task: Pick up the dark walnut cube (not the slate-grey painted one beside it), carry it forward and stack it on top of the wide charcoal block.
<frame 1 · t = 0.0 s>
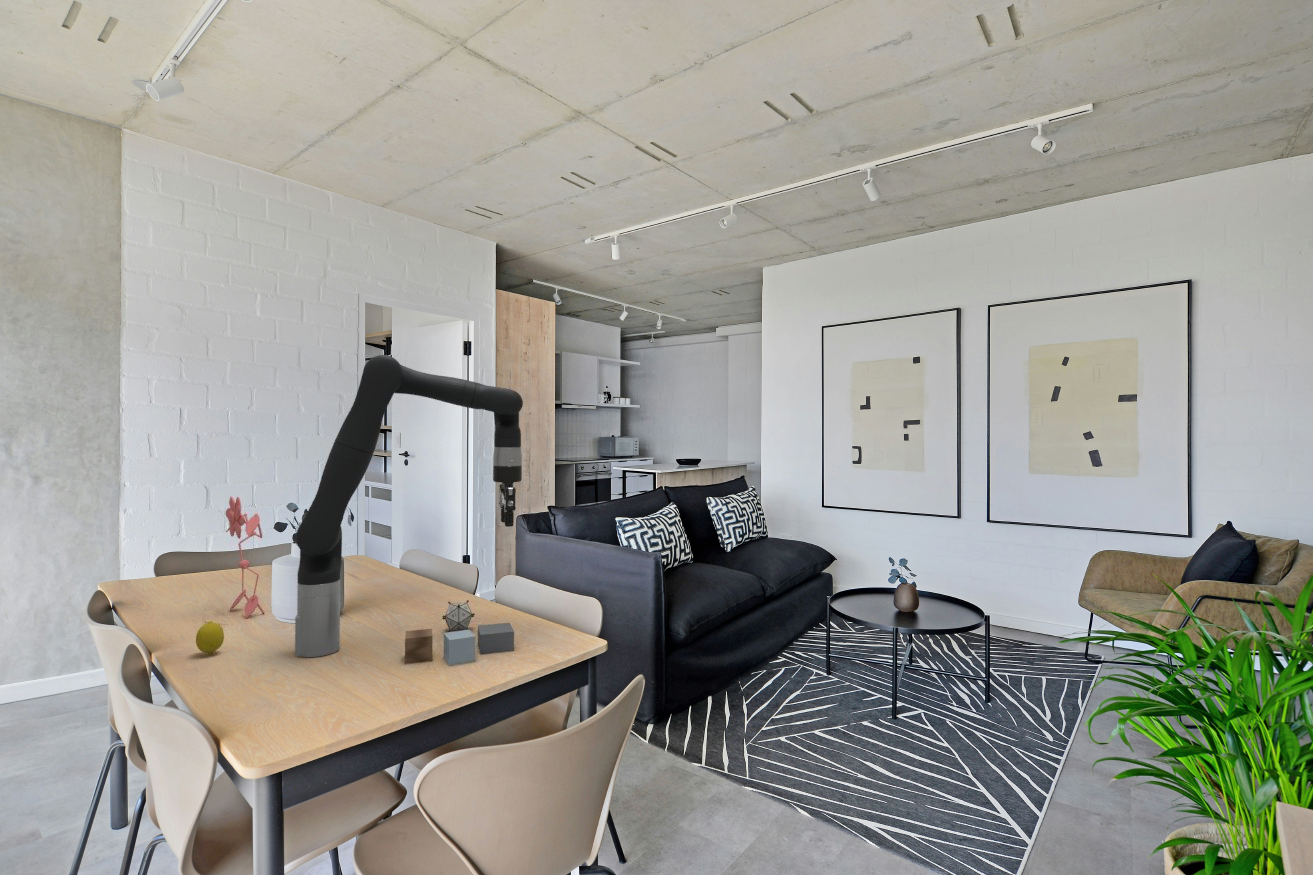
hand: (507, 524, 170), 29 cm above the table, fingers open, 8 cm apart
lemon: (210, 655, 151), on the table
game die: (458, 631, 171), on the table
charcoal block: (495, 648, 158), on the table
slate cube: (459, 659, 149), on the table
walnut cube: (418, 658, 150), on the table
pink stick figure: (232, 616, 184), on the table
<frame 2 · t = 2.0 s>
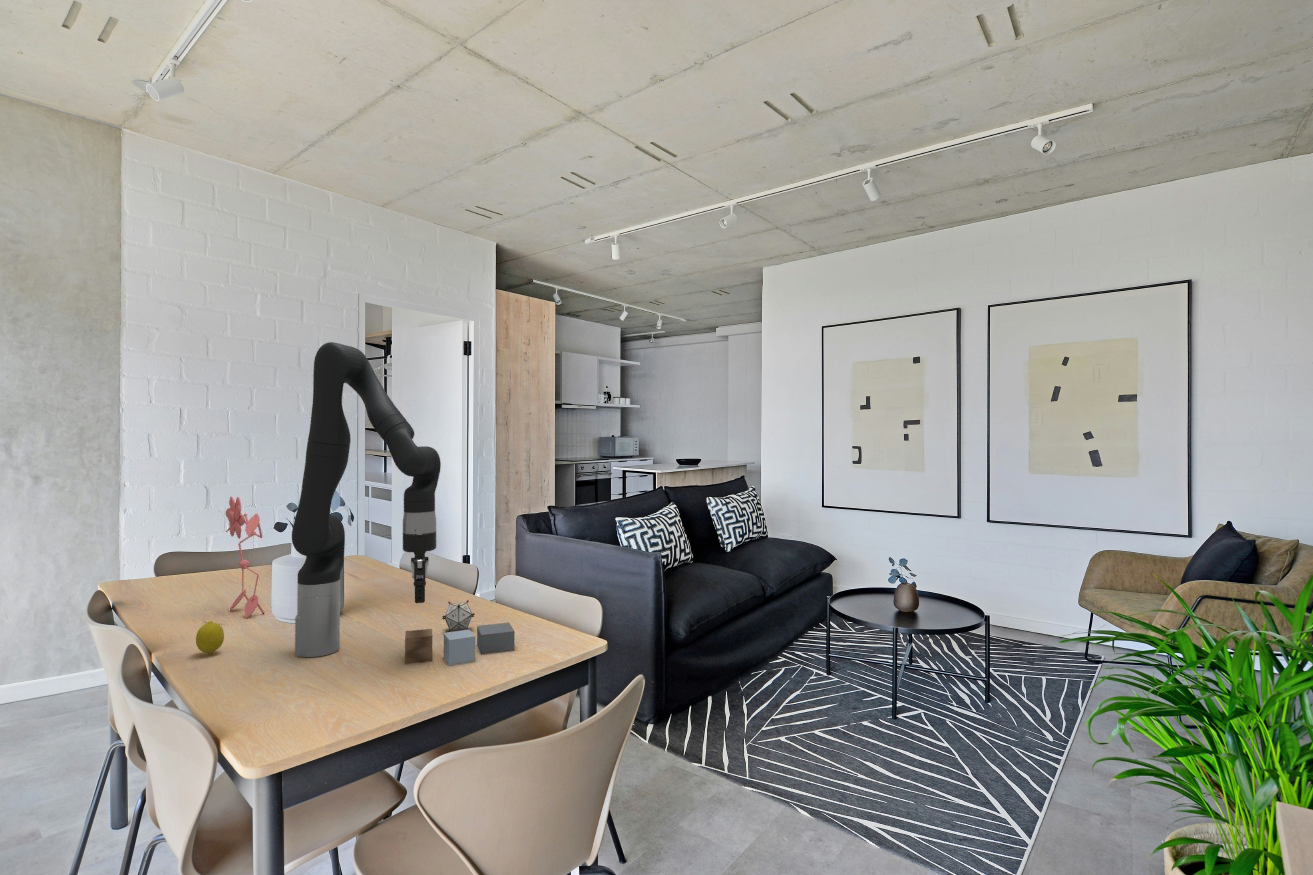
hand: (419, 598, 150), 14 cm above the table, fingers open, 8 cm apart
nothing on the table moved.
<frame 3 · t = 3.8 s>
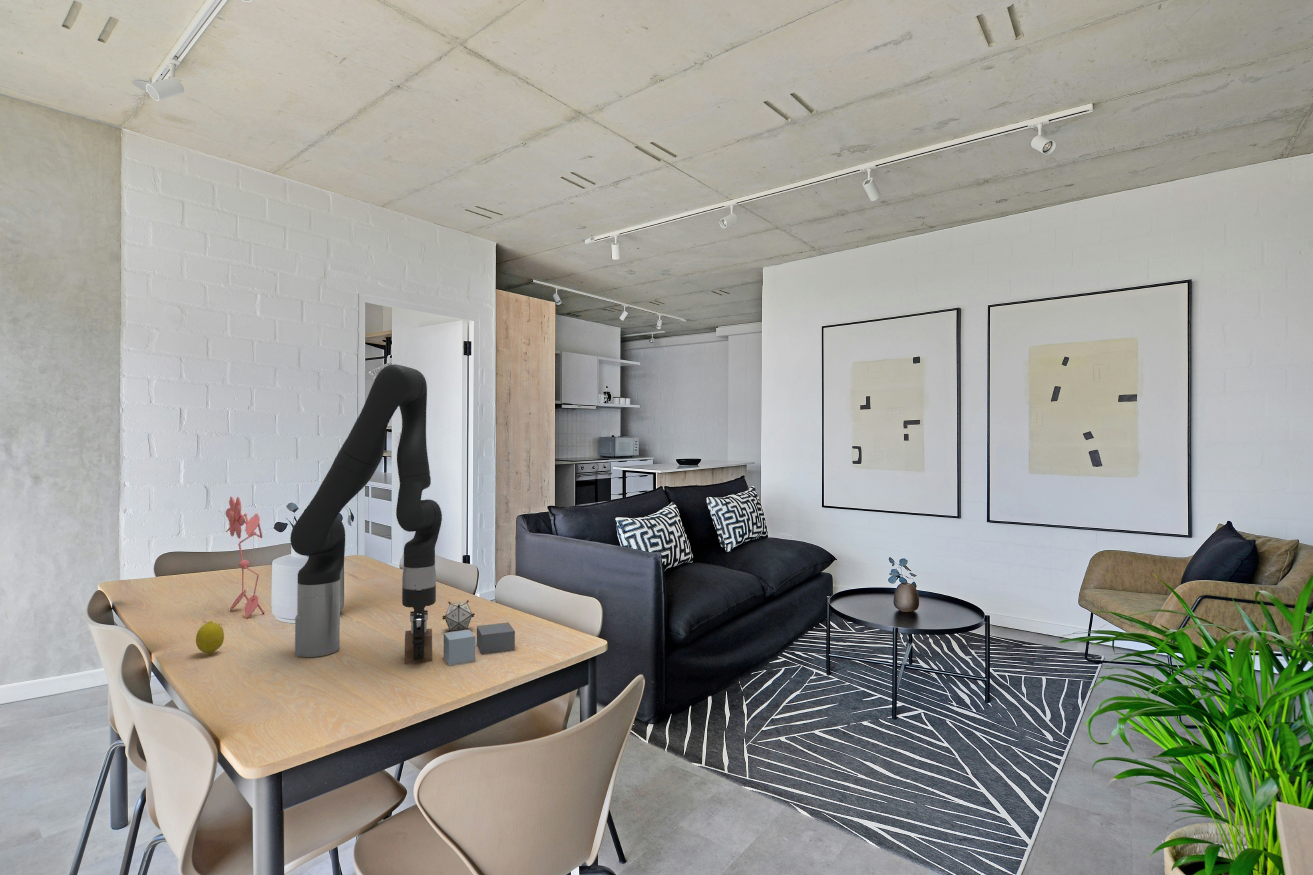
hand: (418, 654, 150), 1 cm above the table, fingers closed on walnut cube, 6 cm apart
walnut cube: (418, 658, 150), on the table, touching gripper
everything else where it was.
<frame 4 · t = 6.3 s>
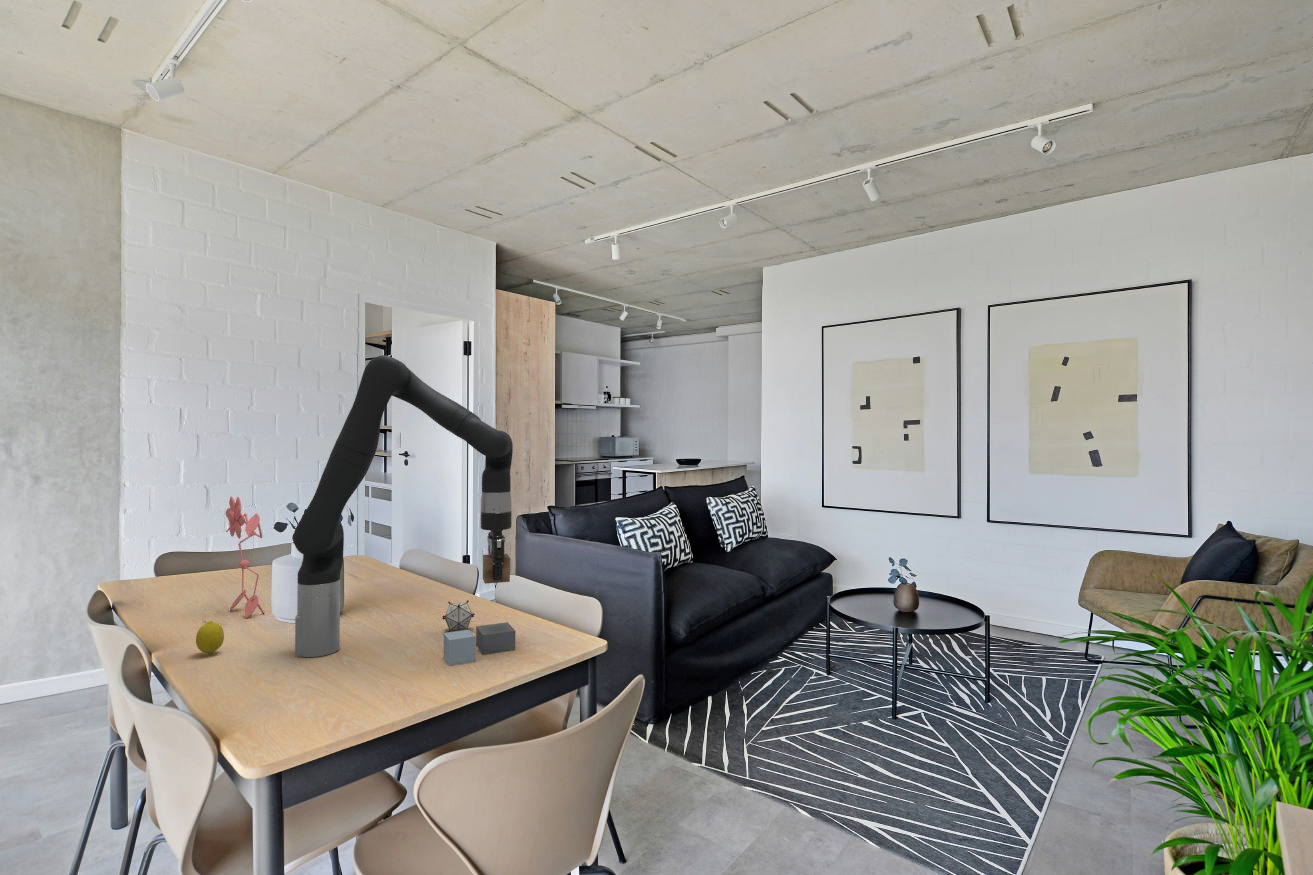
hand: (496, 576, 158), 18 cm above the table, fingers closed on walnut cube, 6 cm apart
walnut cube: (496, 580, 158), point 17 cm above the table, touching gripper
everything else where it was.
when the fingers open (7 cm above the table, at t = 8.8 s): walnut cube drops 1 cm, resting on charcoal block.
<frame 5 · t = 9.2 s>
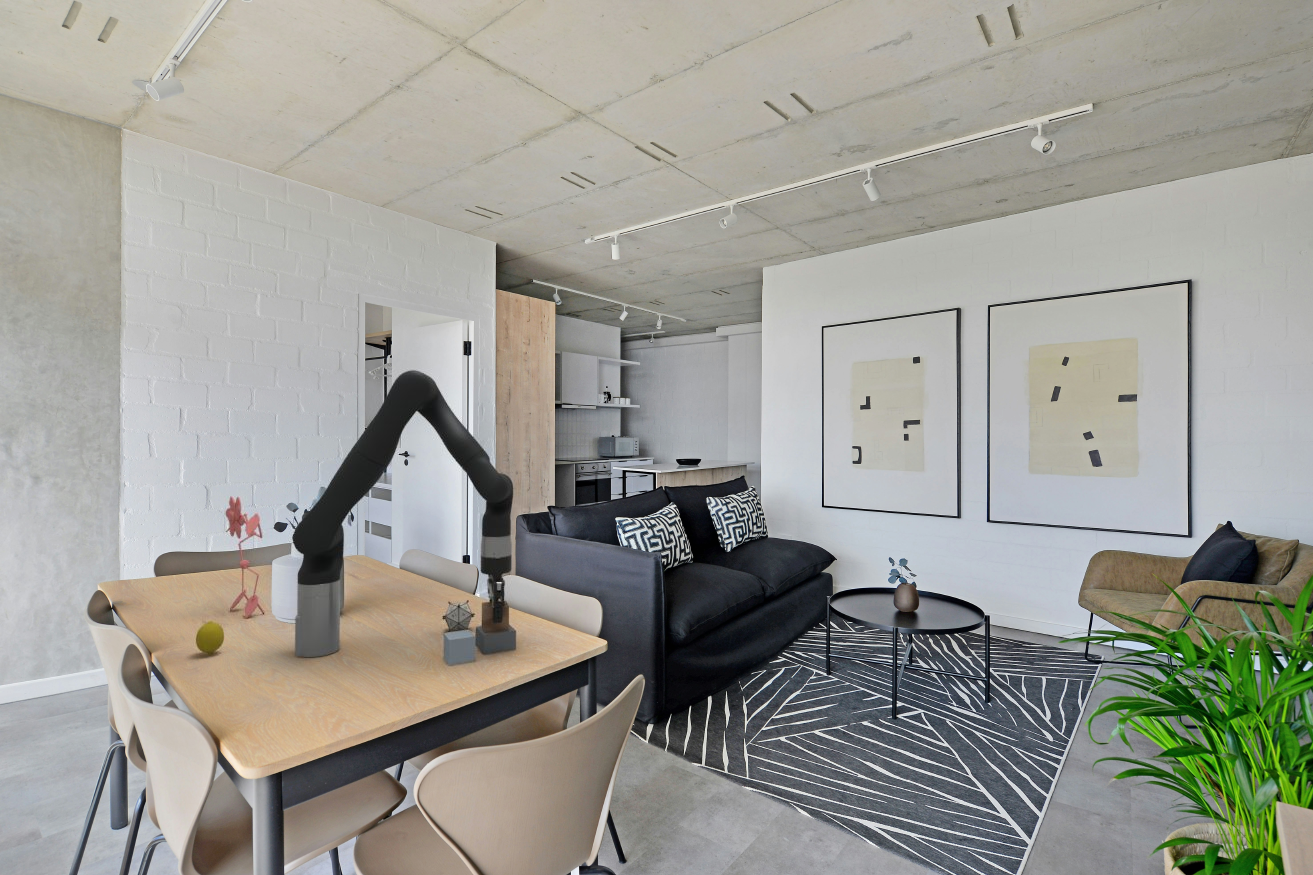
hand: (495, 617, 158), 7 cm above the table, fingers open, 8 cm apart
charcoal block: (495, 648, 158), on the table, touching walnut cube
walnut cube: (495, 628, 158), point 5 cm above the table, touching charcoal block
everything else where it was.
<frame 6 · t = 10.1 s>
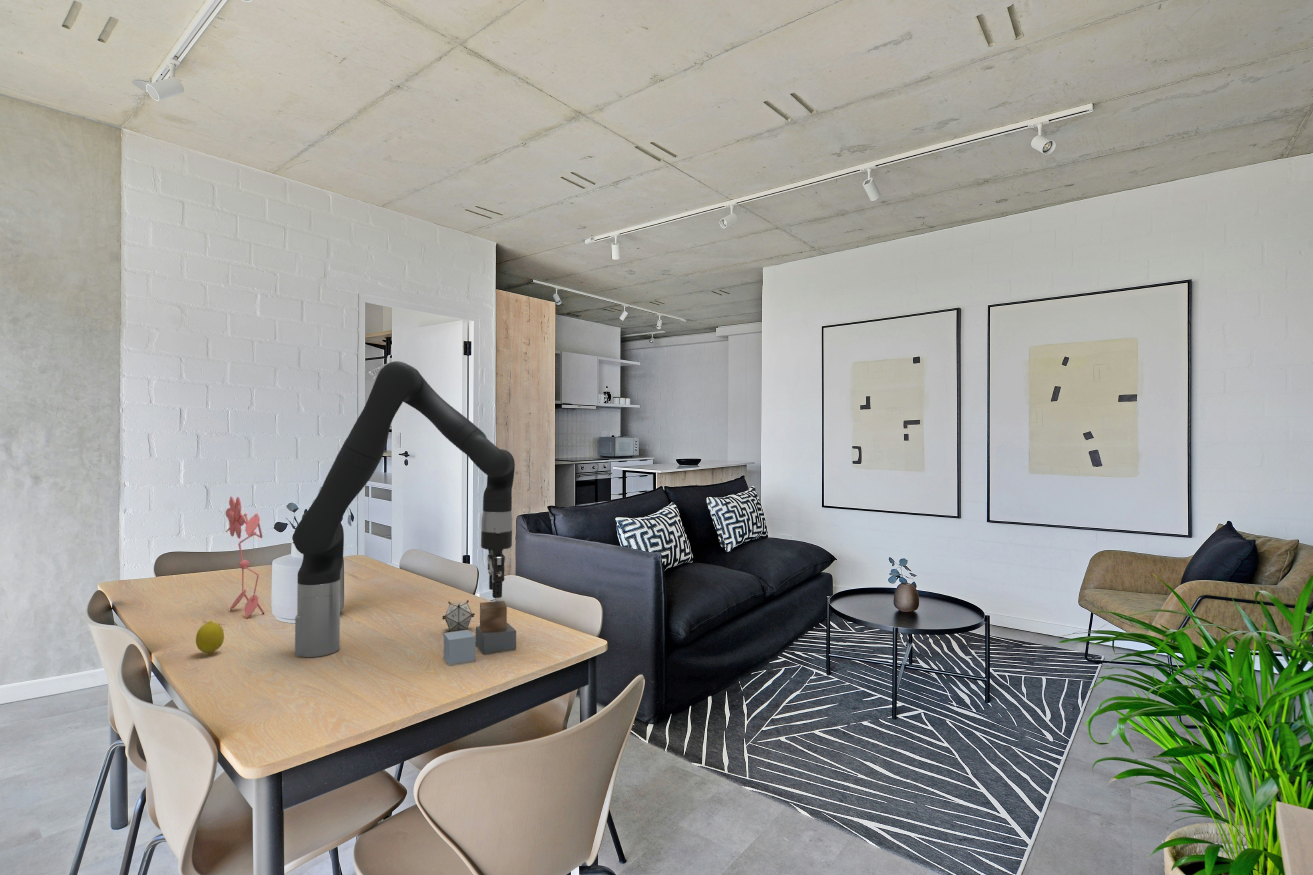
hand: (495, 593, 158), 14 cm above the table, fingers open, 8 cm apart
nothing on the table moved.
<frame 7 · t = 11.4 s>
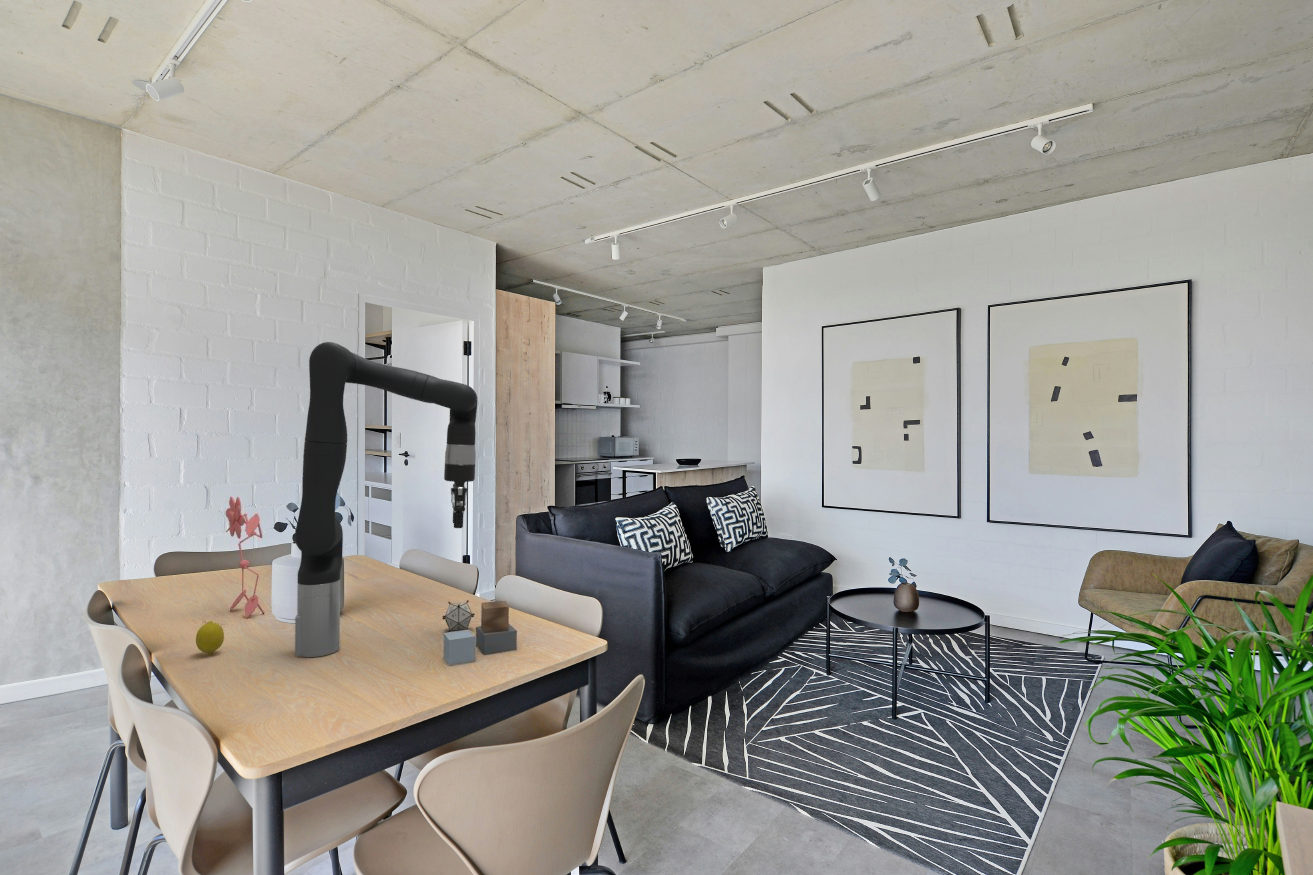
hand: (457, 525, 161), 30 cm above the table, fingers open, 8 cm apart
nothing on the table moved.
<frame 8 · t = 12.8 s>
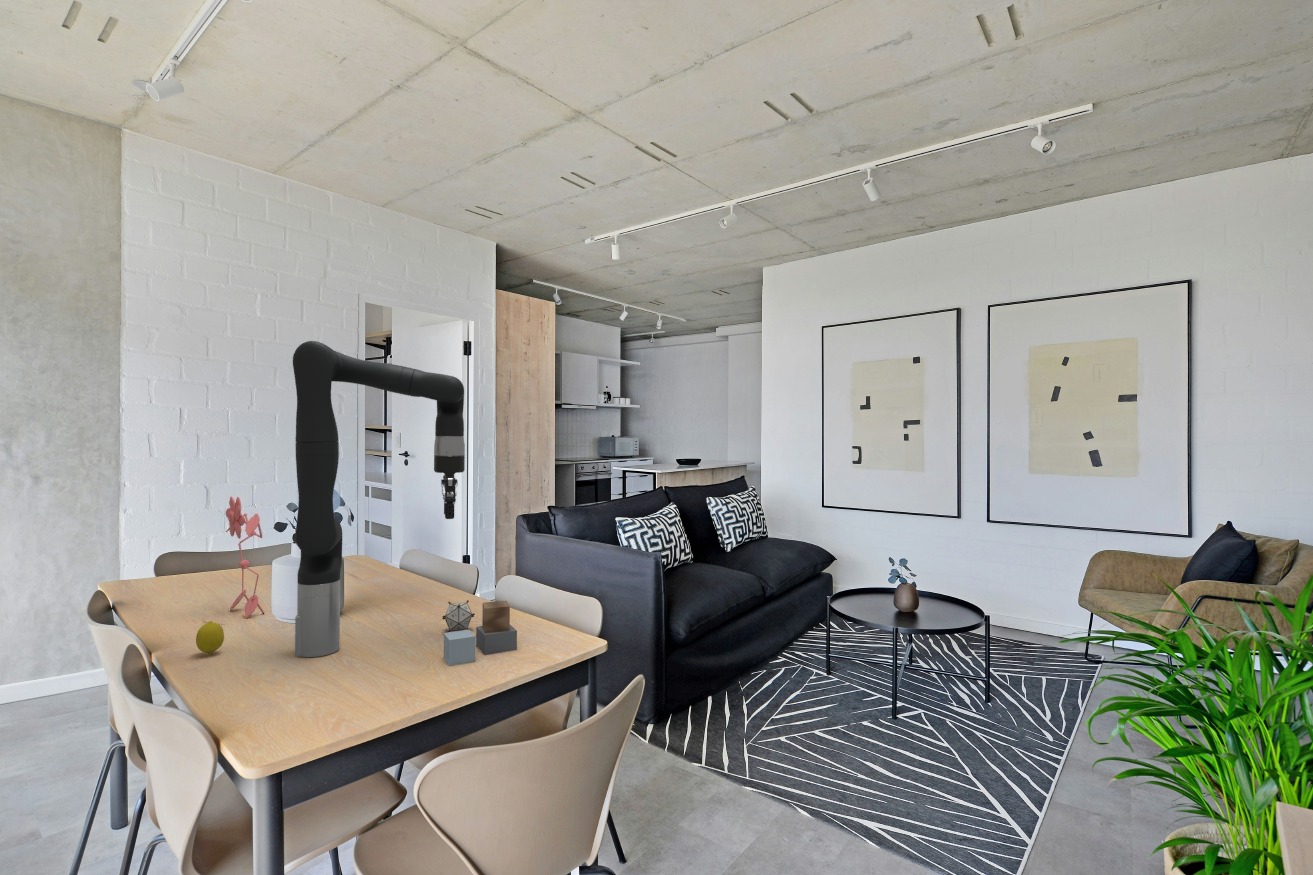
hand: (448, 516, 163), 32 cm above the table, fingers open, 8 cm apart
charcoal block: (496, 648, 158), on the table
walnut cube: (495, 628, 158), point 5 cm above the table
everything else where it was.
at the end: walnut cube 0.2 cm from the charcoal block (horizontally); walnut cube point 4.7 cm above the table; walnut cube tilted 0° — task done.
